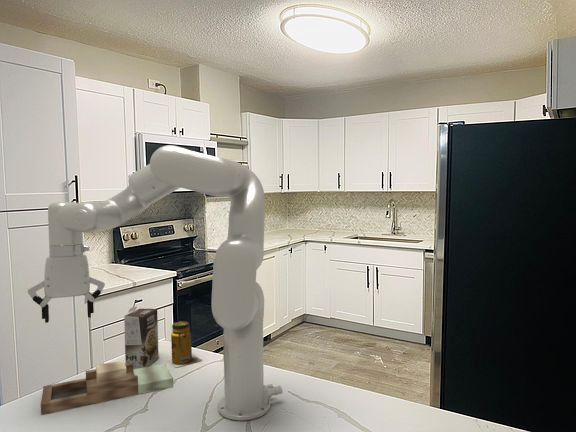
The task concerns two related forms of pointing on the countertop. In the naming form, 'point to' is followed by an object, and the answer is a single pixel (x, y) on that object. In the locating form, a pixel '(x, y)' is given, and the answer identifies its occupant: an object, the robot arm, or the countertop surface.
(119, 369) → the birch block
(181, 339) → the condiment
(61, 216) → the robot arm
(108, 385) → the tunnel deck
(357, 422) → the countertop surface
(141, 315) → the coffee box
